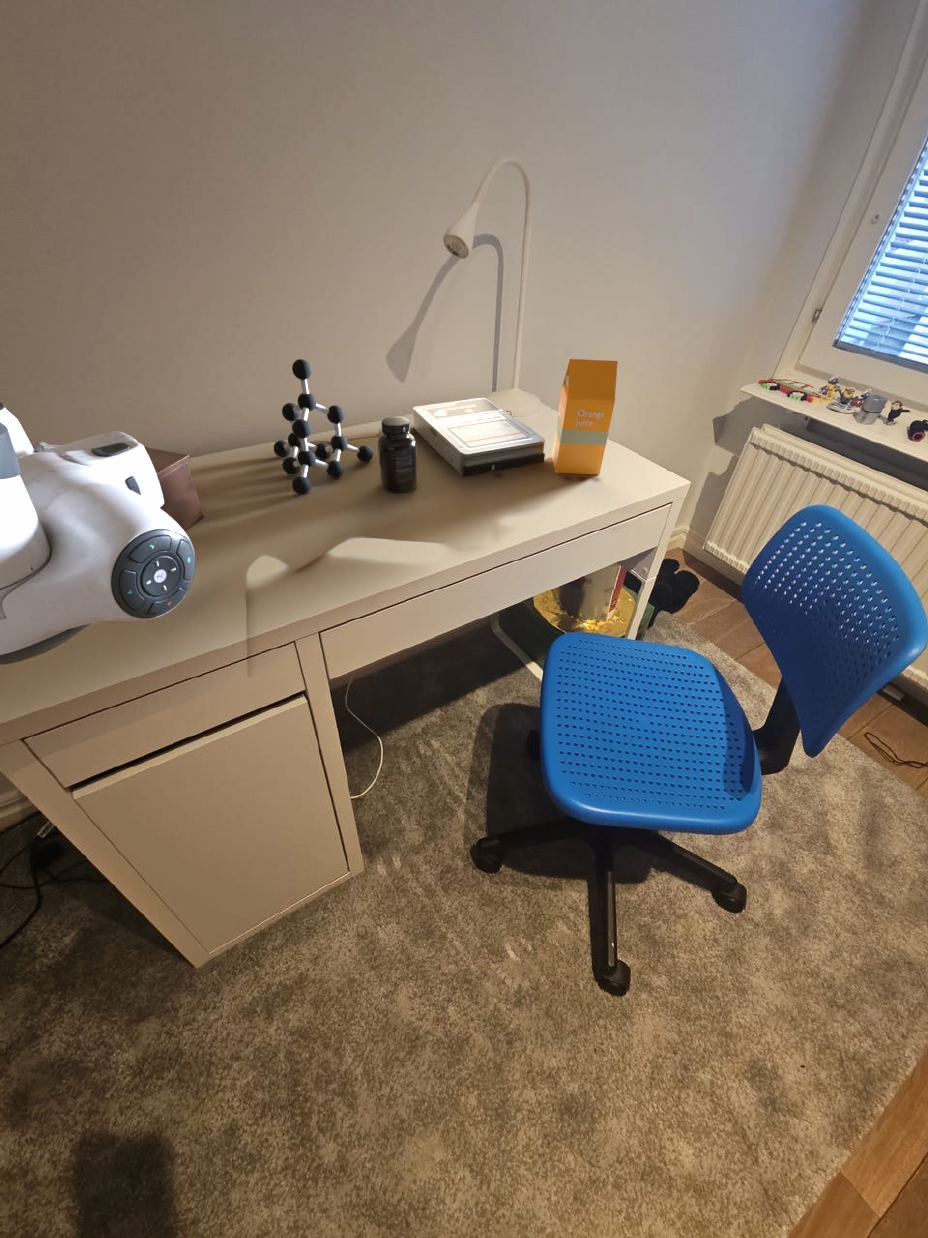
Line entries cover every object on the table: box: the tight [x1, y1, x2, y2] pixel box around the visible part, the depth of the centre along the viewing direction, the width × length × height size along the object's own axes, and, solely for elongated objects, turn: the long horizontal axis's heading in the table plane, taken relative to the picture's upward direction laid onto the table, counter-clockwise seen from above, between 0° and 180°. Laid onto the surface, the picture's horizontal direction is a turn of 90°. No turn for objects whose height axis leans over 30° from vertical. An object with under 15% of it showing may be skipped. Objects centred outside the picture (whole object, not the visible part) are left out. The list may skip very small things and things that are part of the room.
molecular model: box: [273, 358, 374, 496], centre depth 98 cm, size 18×20×20 cm
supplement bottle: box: [376, 416, 418, 494], centre depth 96 cm, size 7×7×12 cm
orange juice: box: [551, 358, 618, 475], centre depth 103 cm, size 8×9×20 cm
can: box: [0, 401, 35, 458], centre depth 53 cm, size 6×6×12 cm
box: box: [158, 461, 205, 532], centre depth 84 cm, size 11×12×10 cm
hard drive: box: [412, 397, 546, 478], centre depth 115 cm, size 18×27×4 cm
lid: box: [144, 446, 191, 478], centre depth 80 cm, size 12×12×1 cm
